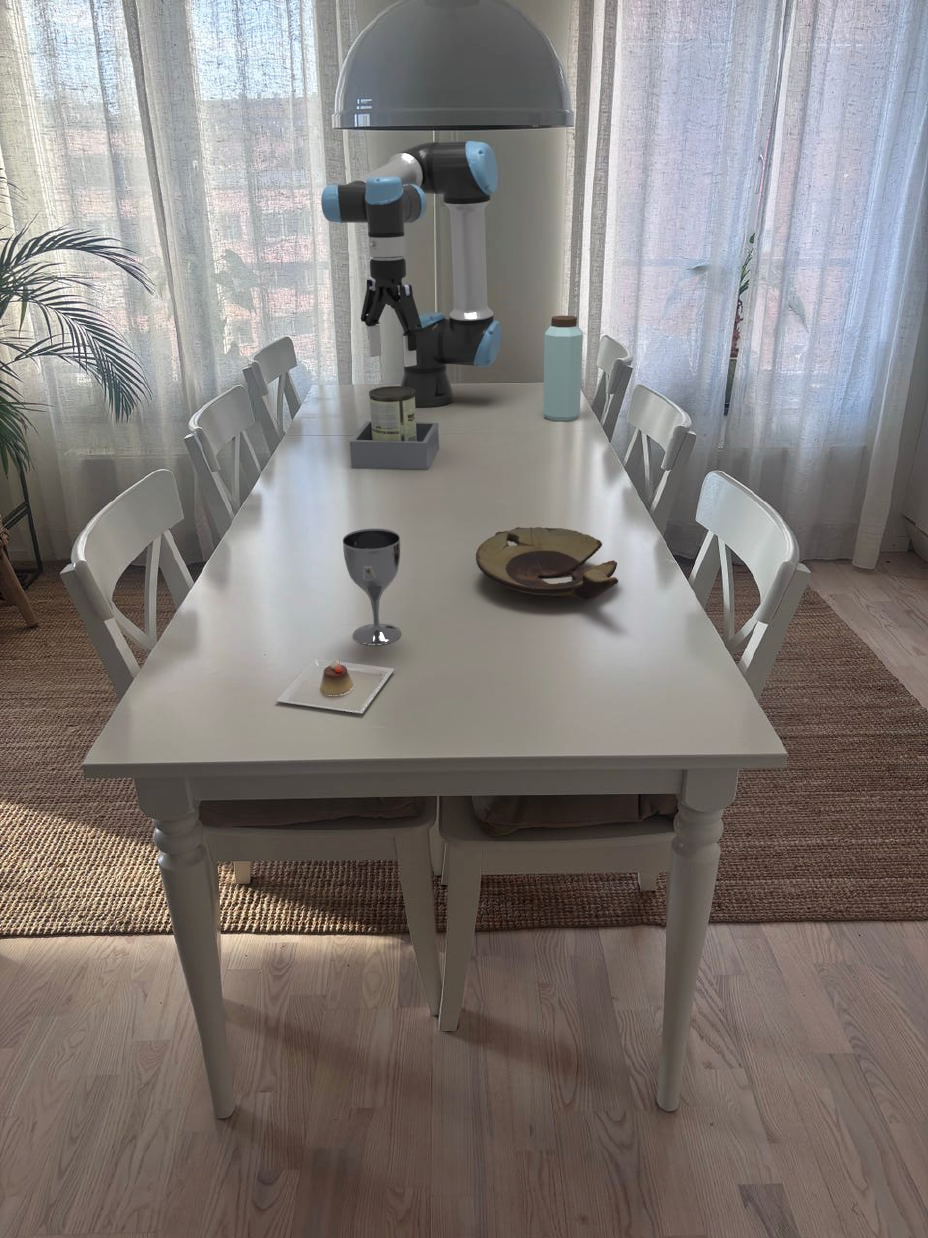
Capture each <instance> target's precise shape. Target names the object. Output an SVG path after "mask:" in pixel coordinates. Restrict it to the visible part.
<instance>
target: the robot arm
mask: <svg viewBox="0 0 928 1238" xmlns="http://www.w3.org/2000/svg"><path fill="white" fill-rule="evenodd" d="M498 172H499V170H498V163H497V160H496V155H495V153H494V151H493V149H492V148H491V146H490V145H489V144H488V143H486V142H482V141H472V140H464V141H463V140H462V141H441V142H439V141H437V142H436V141H430V142H425V143H420V144H418V145H415V146H412V147H410V148H409V147H408V148H407V149H405V150H403V151H400V152H398V153H396V154H394V155H393V156H391V157H390V159H389V160H388V161H387V164H384V165H383V166H381V167H379V168H377V169H375V170H373V171H370V172H369V173H367V174H365V175H363V176H361V177H359V178H357V179H354V180H353V181H351V182H348V183H346V184H339V183H337V184H332V185H331V184H330V185H327V186H325V188H323V191H322V193H321V198H320V203H321V210H322V214H323V216H324V218H325V219H326V220H327V221H328V222H330V223H331V222H332V223H340V224H343V223H344V224H345V223H352V224H353V223H367V234H368V235H367V237H368V249H369V250H368V251H369V253H368V255H369V257H371V259H370V260H369V274H370V277H371V279H366V291H365V295H364V301H363V305H362V310H361V314H360V322H362V323H363V322H364V323H365V326H366V327H367V338H368V351H369V352H368V354H369V357H370V358H373V357H374V358H375V357H379V356H383V355H382V354H383V353H382V343H381V342H382V339H381V325H380V324H381V323H380V319H381V316H382V313H383V312H384V309H385V307H386V305H387V306H390V308H391V309H393V310H394V313H395V314H396V317H397V319H398V321H399V323H400V326H401V327H402V331H401V332H402V333H401V337H402V353H403V354H402V355H403V376H402V379H401V384H400V386H404V387H410V388H413V389H415V408H423V407H424V408H429V407H430V408H432V407H441V406H445V405H448V404H451V403H453V401H454V391H453V388H452V385H451V381H450V379H449V376H448V373H447V365H454V366H455V365H457V366H458V365H459V366H473V367H488V366H490V365H492V364H493V363H494V362H495V360H496V359H497V357H498V354H499V350H500V347H501V342H502V333H503V331H502V330H503V329H502V325H501V324H502V323H501V322H499V321H498V320H494V318H495V317H494V311H493V310H491V308H490V307H489V306H488V286H487V285H488V283H487V282H488V280H487V251H486V250H487V249H486V248H487V247H486V243H487V242H486V218H485V217H486V216H485V215H486V214H485V212H486V211H485V209H486V207H487V206H488V205H489V204H490V202H491V196H492V195H494V194H495V193H496V191H497V189H498V185H499V184H498V181H499V173H498ZM426 194H428V195H429V194H430V195H442V197H443V204H444V206H446V207H447V208H448V209H449V213H450V234H451V235H450V236H451V237H450V239H451V254H452V255H451V257H452V277H453V279H452V280H453V299H454V308H453V310H452V311H450V313H449V316H448V317H449V318H448V319H447V316H446V313H444V312H439V311H438V312H428V313H421V314H419V311H418V308H417V306H416V303H415V298H414V295H413V294H414V293H413V286H412V285H411V284H403V281H402V280H403V279H404V278H405V277H407V276H406V275H407V267H406V266H407V262H406V259H405V258H403V257H404V256H406V239H405V224H407V223H410V224H411V223H414V222H416V221H418V220H420V219H421V218H422V217H423V216H424V214H425V213H426V211H427V208H428V207H427V206H428V200H427V197H426V196H427V195H426Z"/></svg>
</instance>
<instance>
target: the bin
mask: <svg viewBox="0 0 928 1238" xmlns="http://www.w3.org/2000/svg"><path fill="white" fill-rule="evenodd" d="M416 432H417V442H416V441H373V439H372V424H371V420H370V421H369V420H366V421H365V422H364V423H363V425H362V426H361V428H360V429H358V431H357V432H356V433H355V435H354V436H353V437H352V438H351V439H350V440H349V451H350V463H351V465H350V466H351V469H380V470H381V469H385V470H387V469H388V470H420V471H422V470H424V471H425V470H428V469H429V467H430V465H431V463H432V462H433V460H434V458H435V456H436V455H437V452H438V450H440V449H439V448H440V440H439V439H440V438H439V437H440V435H439V434H440V433H439V422H422V421H421V422H420V421H419V422H418V421H416Z"/></svg>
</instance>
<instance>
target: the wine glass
mask: <svg viewBox="0 0 928 1238" xmlns="http://www.w3.org/2000/svg"><path fill="white" fill-rule="evenodd" d="M342 547H343V555H344V556H343V557H344V561H345V566H346V568H347V569H346V570H347V571H348V575H349V577H350V579H351V580H352V581H353V582H354V584H356V586H358V587H359V588H360V589H361V590H363V592H364V593H365V594H366V595H367V597H368V599H369V601H370V605H371V610H372V615H373V616H372V617H373V623H369V624H365V625H362V626H359V627H358V628H356V629H355V630H354V632H353V633H352V638H354V639H355V640H357V641H358V642H360V643H359V644H361V643H366V644H375V645H378V644H385V643H389V644H392V643H394V642H396V641H397V640H399V639H400V638H401V636H402V631H401V629H400V628H399V627H398V626H396V625H393V624H389V623H384V622H383V623H382V622H380V619H379V618H380V617H379V614H380V613H379V612H380V601H381V598H382V595H383V593H384V592H385V591H386V590H387V588H388V587H389V586H390V585H391V583H392V582H393V581H394V580H395V579H396V577H397V575H398V571H399V566H400V560H401V539H400V535H399V534H398V533H397V532H396V531H393V530H391V529H386V528H365V529H364V528H363V529H358V530H354V531H352V532H349V533H347V534H346V535H345V536H344V537H343V539H342ZM354 639H353V640H354ZM355 640H354V641H355ZM358 642H357V643H358ZM391 642H392V643H391ZM385 645H386V644H385ZM378 646H379V645H378Z"/></svg>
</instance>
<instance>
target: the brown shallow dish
mask: <svg viewBox="0 0 928 1238" xmlns="http://www.w3.org/2000/svg"><path fill="white" fill-rule="evenodd" d="M508 542H511V543H514V544H516V545H509V543H508ZM602 546H603V543H602V541H601V540H599V539H597V538H595V537H594V536H591V535H590V534H586V533H582V532H581V531H580V532H579V531H577V530H572V529H568V528H561V527H560V528H559V527H557V528H556V527H555V528H553V527H551V528H550V527H542V526H540V527H538V526H536V527H532V526H531V527H520V526H519V527H518V526H517V527H515V528H514V529H510V530H504V531H497V532H495V534H494V535H493V536H491V537H489V538H488V539H486V540H485V541H483V542H482V543H481V544H480V545H479V547H478V548H477V549H476V554H475V561H476V565H477V568H478V569H479V570H480V571H481V572H482V573H483V574H484V576H486V577H487V578H488V579H490V580H491V581H492V582H494V583H496V584H498V585H500V586H502V587H506V588H508V589H511V590H514V591H517V592H520V593H521V592H522V593H526V594H529V595H530V594H531V595H537V596H553V597H554V596H560V597H561V596H575V597H577V598H579V599H580V600H583V601H593V600H594V599H596V598H597V597H599V596H600V595H602V594H604V593H605V592H606V591H608V590H610V589H612V588H613V587H614V586H615V585H618V583H619V579H618V578H617V577H615V576H613V575H614V574H615V571H616V570H617V566H618V562H617V561H616V560H614V559H613V560H610V561H609V560H608V561H606V562H602V563H600V564H597V565H593V566H590V567H586V568H582V569H579V567H581V566H583V565H584V564H585V563H586V562H587V561H588V560H589V559H590V558H591V557H593V555H595V554H596V553H597V552H598V551H599V550H600V549H601V547H602ZM578 569H579V570H578ZM569 574H570V576H571V578H572V580H570V581H567V582H558V583H549V582H547V581H545V580H544V579H543V578H544V577H545V578H546V577H549V578H551V577H553V578H554V577H562V576H564V575H569Z"/></svg>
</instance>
